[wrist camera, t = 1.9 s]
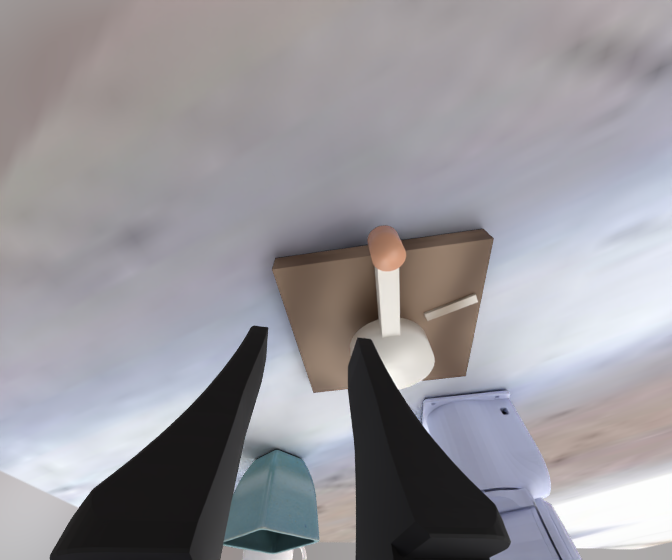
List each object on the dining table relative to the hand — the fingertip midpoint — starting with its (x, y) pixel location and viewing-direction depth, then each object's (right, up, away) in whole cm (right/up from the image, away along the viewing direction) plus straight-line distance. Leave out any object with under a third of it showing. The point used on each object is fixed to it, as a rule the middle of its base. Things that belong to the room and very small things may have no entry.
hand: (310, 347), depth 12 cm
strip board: (+5, 0, +12) cm, 13 cm away
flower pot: (-7, -23, +28) cm, 36 cm away
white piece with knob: (+5, +1, +7) cm, 9 cm away
